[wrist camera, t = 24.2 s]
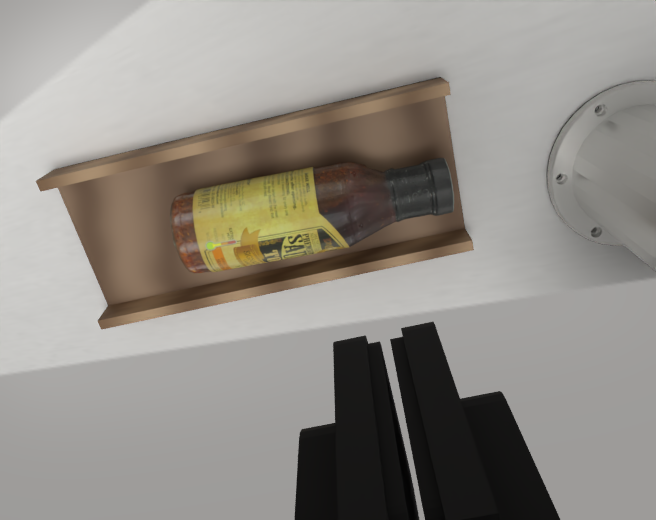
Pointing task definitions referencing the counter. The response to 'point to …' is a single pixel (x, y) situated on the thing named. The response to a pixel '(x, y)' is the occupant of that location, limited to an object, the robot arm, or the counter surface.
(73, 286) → the counter surface
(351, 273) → the tray
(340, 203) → the sauce bottle
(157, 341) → the counter surface
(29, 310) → the counter surface
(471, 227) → the counter surface
